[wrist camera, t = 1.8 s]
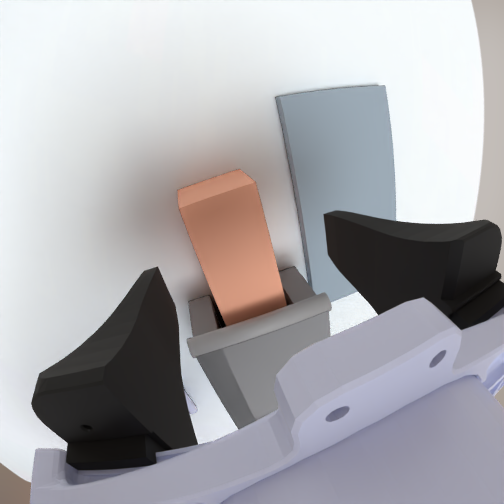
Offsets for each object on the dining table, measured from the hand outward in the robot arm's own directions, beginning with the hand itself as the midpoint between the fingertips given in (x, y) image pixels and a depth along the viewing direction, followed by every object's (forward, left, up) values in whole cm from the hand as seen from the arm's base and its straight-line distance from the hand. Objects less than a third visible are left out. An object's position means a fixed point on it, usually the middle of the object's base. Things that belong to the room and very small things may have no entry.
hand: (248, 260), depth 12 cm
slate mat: (+9, -2, -7) cm, 12 cm away
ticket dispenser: (0, -11, -7) cm, 13 cm away
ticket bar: (0, -4, -8) cm, 9 cm away
